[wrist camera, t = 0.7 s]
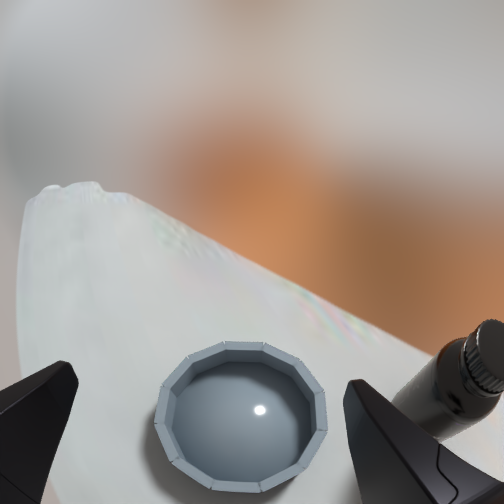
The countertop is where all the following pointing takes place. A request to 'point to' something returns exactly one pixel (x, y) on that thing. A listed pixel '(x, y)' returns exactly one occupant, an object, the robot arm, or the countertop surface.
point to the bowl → (241, 416)
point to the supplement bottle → (457, 383)
